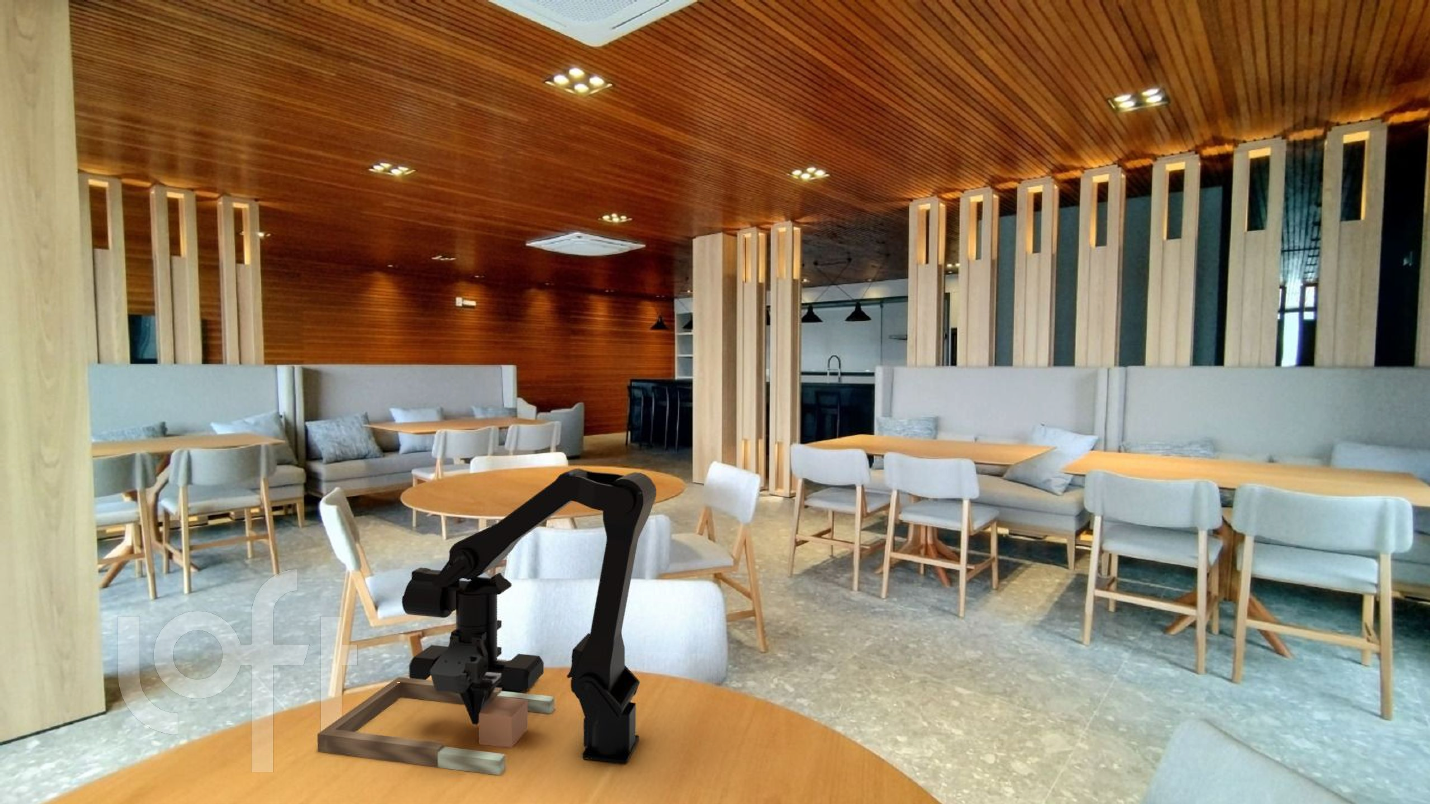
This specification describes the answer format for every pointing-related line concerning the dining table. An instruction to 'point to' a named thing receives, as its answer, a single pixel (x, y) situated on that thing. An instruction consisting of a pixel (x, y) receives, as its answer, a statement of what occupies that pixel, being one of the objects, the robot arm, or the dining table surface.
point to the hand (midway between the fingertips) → (476, 723)
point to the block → (503, 722)
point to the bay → (413, 751)
